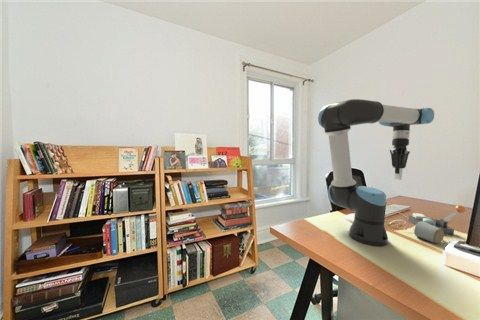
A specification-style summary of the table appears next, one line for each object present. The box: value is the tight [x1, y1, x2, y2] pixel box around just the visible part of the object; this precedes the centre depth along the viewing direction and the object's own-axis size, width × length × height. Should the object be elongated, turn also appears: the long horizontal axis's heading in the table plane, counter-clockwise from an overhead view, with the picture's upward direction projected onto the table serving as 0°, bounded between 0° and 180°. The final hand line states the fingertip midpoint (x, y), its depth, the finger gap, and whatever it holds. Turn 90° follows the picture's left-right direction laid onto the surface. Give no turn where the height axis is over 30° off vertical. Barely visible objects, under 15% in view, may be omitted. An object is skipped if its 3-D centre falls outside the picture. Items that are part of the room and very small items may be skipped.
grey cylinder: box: [413, 221, 445, 244], centre depth 91 cm, size 11×8×8 cm
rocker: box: [412, 212, 427, 219], centre depth 110 cm, size 4×3×1 cm
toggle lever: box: [442, 205, 466, 224], centre depth 97 cm, size 3×3×14 cm
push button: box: [423, 218, 434, 225], centre depth 102 cm, size 4×4×2 cm
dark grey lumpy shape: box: [408, 215, 455, 236], centre depth 105 cm, size 11×16×6 cm
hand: (398, 179), depth 113 cm, fingers closed
